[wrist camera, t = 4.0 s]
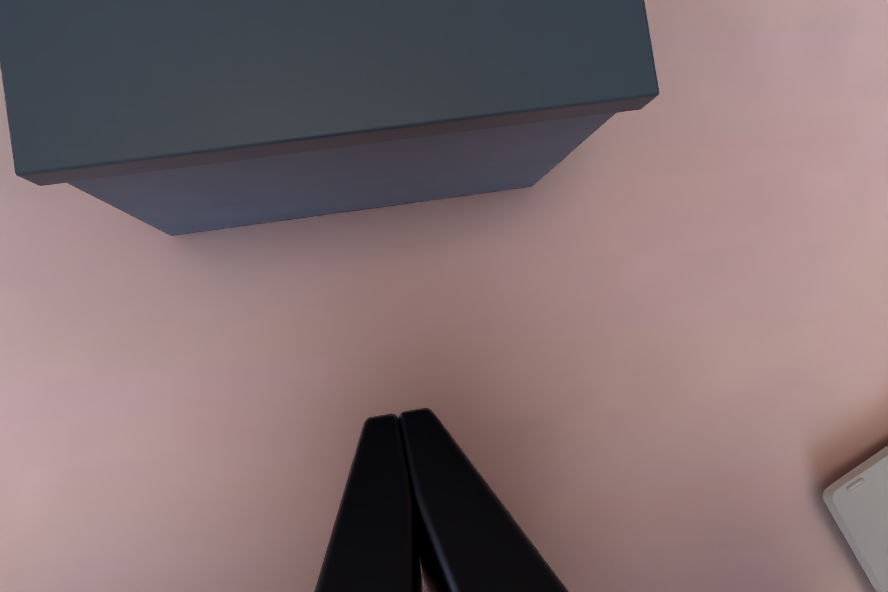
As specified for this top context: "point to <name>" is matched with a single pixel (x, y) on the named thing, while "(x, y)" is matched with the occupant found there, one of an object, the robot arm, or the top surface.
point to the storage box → (309, 99)
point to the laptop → (864, 515)
